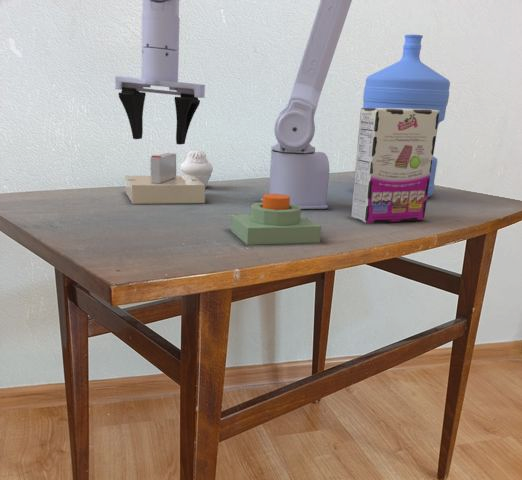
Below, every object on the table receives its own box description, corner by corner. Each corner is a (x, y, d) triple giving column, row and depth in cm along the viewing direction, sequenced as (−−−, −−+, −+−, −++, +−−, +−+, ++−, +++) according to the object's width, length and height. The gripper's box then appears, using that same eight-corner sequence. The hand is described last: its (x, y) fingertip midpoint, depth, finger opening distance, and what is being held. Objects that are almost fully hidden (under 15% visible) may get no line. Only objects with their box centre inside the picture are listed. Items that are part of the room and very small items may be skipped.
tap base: (192, 191, 109) (192, 174, 107) (207, 204, 98) (207, 184, 97) (124, 192, 105) (123, 173, 104) (132, 205, 94) (131, 185, 93)
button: (283, 206, 80) (284, 193, 79) (293, 212, 77) (294, 198, 76) (258, 206, 79) (259, 193, 78) (267, 212, 76) (267, 198, 75)
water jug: (337, 191, 117) (353, 31, 105) (378, 184, 128) (396, 39, 116) (408, 203, 108) (434, 30, 96) (445, 195, 119) (472, 39, 107)
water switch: (298, 229, 84) (300, 200, 83) (319, 242, 78) (322, 212, 76) (230, 230, 82) (231, 201, 80) (247, 245, 75) (248, 213, 73)
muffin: (174, 187, 112) (173, 148, 109) (191, 183, 117) (191, 146, 114) (202, 191, 110) (202, 151, 107) (218, 187, 115) (219, 149, 112)
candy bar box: (405, 214, 98) (421, 108, 91) (424, 221, 94) (442, 110, 87) (347, 217, 94) (359, 106, 87) (365, 224, 90) (378, 107, 83)
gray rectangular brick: (167, 176, 104) (167, 151, 102) (176, 177, 104) (176, 151, 102) (150, 182, 97) (150, 155, 95) (160, 183, 97) (159, 156, 95)
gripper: (105, 43, 90) (107, 137, 95) (195, 51, 87) (191, 148, 92) (126, 47, 96) (126, 135, 102) (210, 54, 93) (206, 145, 99)
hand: (158, 141), depth 97 cm, fingers open, 7 cm apart
